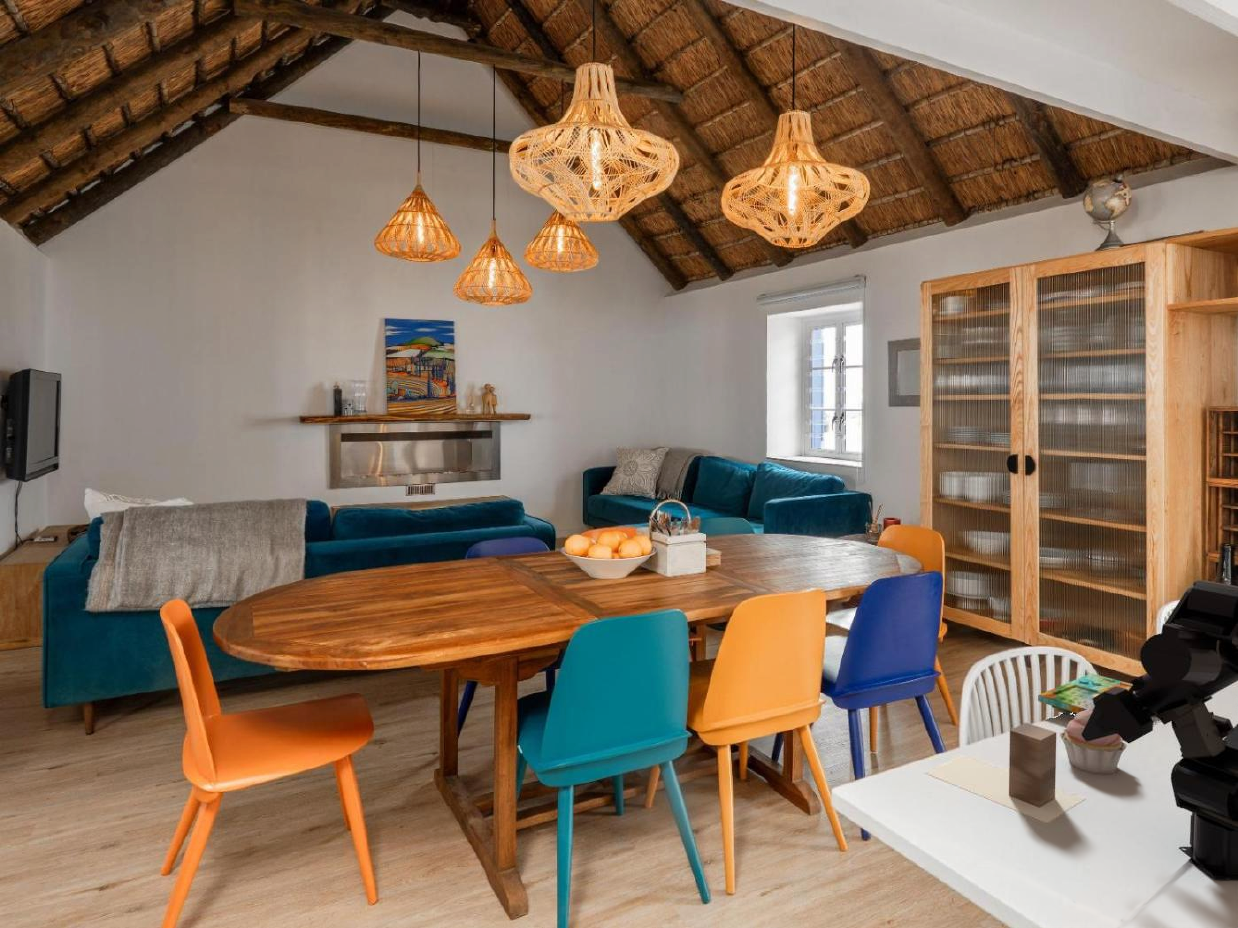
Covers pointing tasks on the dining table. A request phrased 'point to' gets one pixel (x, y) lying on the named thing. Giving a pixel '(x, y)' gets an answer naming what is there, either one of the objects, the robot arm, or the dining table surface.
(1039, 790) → the walnut block
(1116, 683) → the puzzle game
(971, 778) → the beige mat
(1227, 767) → the robot arm
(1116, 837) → the dining table surface
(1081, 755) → the cupcake
